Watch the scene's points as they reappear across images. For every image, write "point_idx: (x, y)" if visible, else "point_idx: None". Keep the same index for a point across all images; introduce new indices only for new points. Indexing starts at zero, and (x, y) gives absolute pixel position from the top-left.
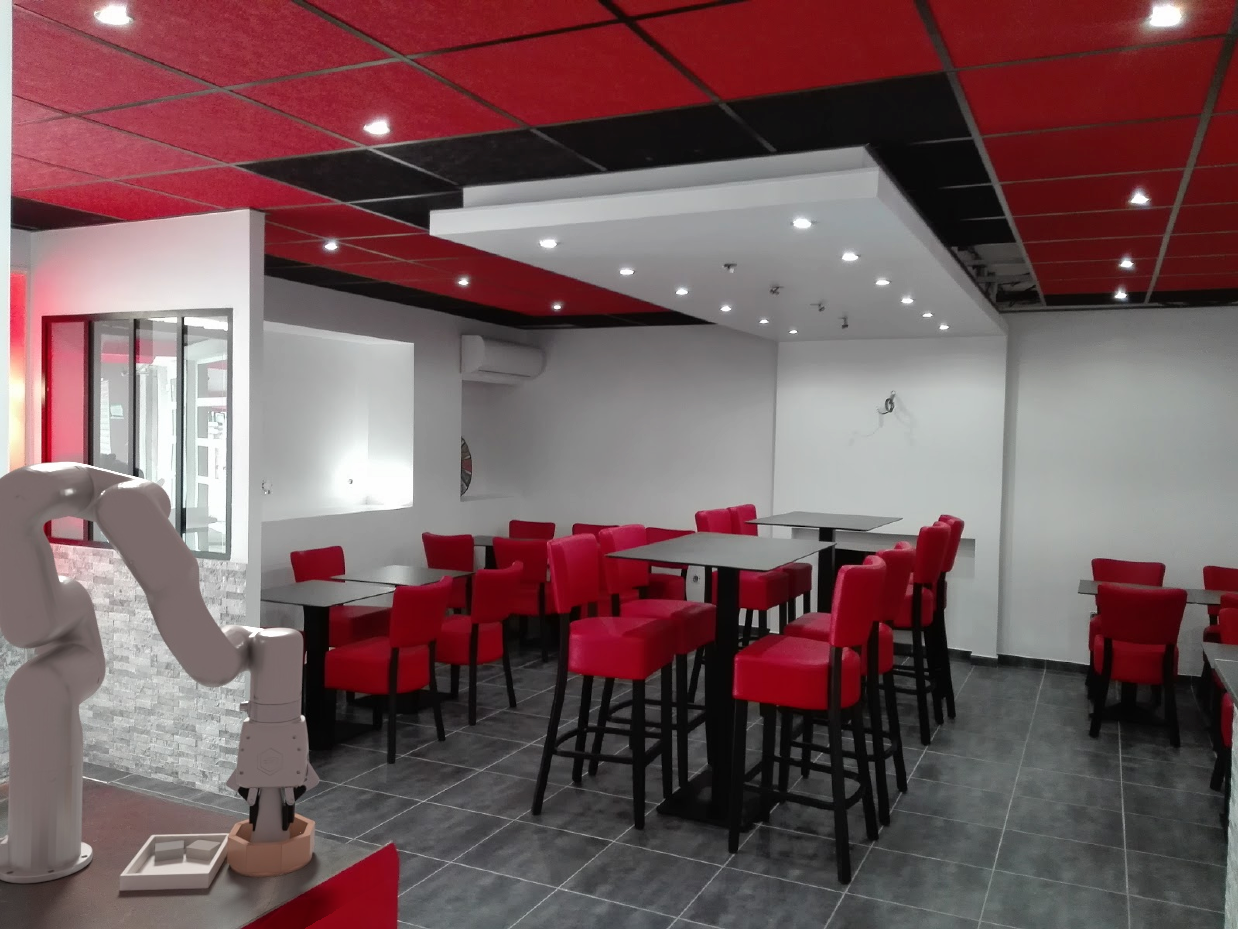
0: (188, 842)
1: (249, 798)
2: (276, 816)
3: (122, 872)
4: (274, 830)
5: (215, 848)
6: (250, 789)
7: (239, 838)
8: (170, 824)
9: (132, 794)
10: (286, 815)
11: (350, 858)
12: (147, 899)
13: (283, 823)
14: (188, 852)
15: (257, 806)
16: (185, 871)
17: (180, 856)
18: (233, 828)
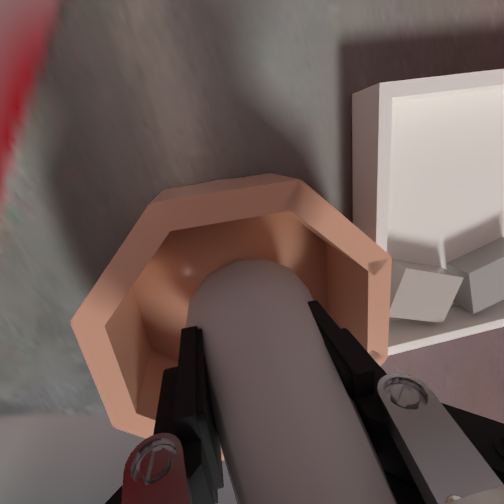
0: (456, 317)
1: (432, 408)
2: (231, 357)
3: None
4: (227, 308)
5: (392, 291)
6: (488, 478)
7: (347, 247)
8: (489, 401)
9: None
10: (180, 374)
11: (2, 333)
12: (493, 15)
13: (196, 345)
14: (447, 272)
15: (351, 381)
16: (430, 193)
17: (456, 263)
18: (386, 321)
